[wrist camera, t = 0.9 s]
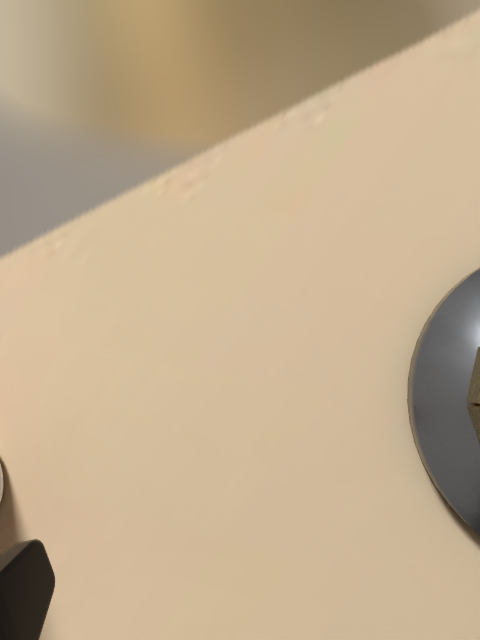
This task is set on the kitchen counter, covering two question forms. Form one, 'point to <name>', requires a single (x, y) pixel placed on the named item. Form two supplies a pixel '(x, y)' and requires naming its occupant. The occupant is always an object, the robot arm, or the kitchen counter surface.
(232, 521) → the kitchen counter surface
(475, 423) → the crown on disc
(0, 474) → the pill bottle
